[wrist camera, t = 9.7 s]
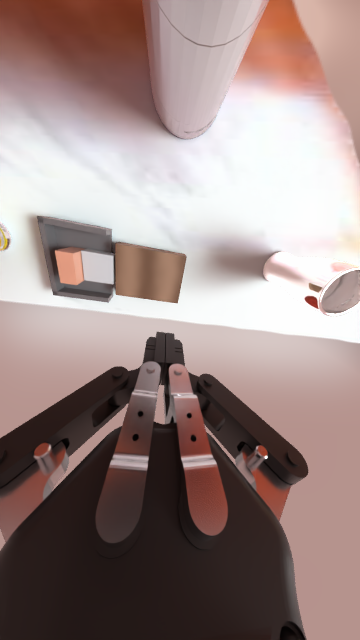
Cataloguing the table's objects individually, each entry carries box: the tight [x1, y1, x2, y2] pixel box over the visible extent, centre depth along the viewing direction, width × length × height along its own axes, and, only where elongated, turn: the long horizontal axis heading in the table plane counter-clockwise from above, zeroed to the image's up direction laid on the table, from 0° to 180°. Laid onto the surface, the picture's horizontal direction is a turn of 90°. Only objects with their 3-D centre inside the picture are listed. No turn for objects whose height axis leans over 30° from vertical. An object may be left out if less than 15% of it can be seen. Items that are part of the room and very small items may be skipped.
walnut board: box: [115, 242, 186, 303], centre depth 31 cm, size 12×9×3 cm
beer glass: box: [263, 252, 360, 316], centre depth 27 cm, size 7×7×15 cm
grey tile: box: [81, 249, 116, 284], centre depth 30 cm, size 5×5×2 cm
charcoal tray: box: [37, 216, 113, 302], centre depth 29 cm, size 10×13×3 cm
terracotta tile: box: [55, 247, 85, 285], centre depth 28 cm, size 5×5×2 cm
